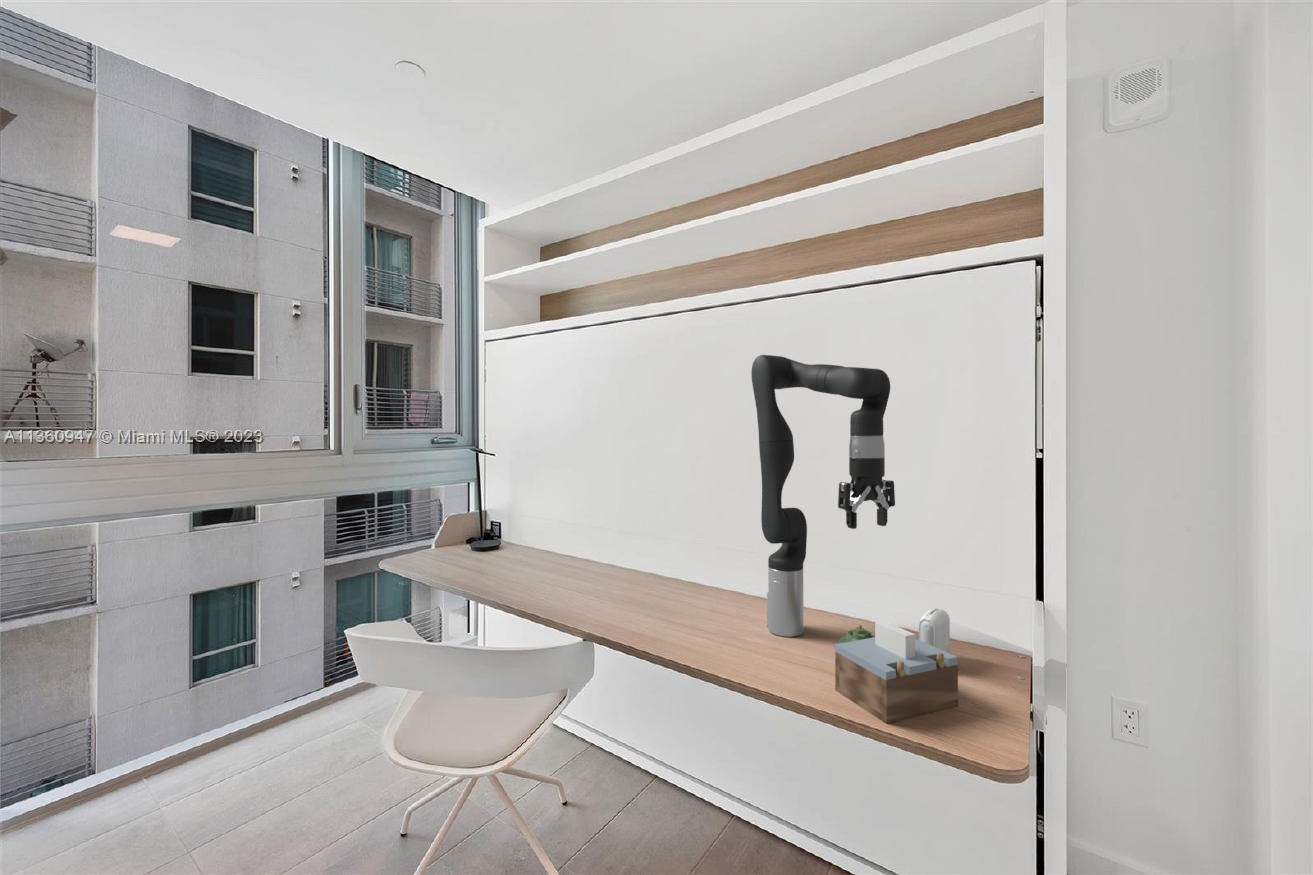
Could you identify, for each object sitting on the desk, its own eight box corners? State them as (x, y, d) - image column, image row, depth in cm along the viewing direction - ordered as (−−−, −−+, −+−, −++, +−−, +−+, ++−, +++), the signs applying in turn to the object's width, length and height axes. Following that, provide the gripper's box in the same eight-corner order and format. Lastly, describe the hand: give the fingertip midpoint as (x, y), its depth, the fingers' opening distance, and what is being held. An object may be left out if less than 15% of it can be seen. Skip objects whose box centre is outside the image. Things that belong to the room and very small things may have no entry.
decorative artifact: (871, 645, 135) (832, 646, 134) (870, 617, 135) (832, 618, 134) (891, 662, 125) (849, 663, 124) (890, 632, 125) (849, 633, 124)
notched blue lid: (835, 651, 111) (835, 622, 111) (901, 639, 118) (901, 612, 118) (886, 680, 98) (885, 647, 98) (957, 664, 105) (957, 634, 105)
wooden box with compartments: (835, 690, 111) (835, 639, 111) (901, 675, 118) (901, 627, 118) (886, 723, 98) (886, 666, 98) (958, 705, 105) (957, 652, 104)
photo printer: (936, 673, 119) (936, 617, 119) (916, 667, 122) (916, 613, 122) (952, 659, 126) (952, 607, 126) (933, 654, 129) (932, 603, 129)
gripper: (878, 454, 128) (879, 522, 128) (830, 455, 122) (830, 526, 123) (903, 455, 121) (903, 527, 121) (853, 457, 115) (853, 532, 116)
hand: (867, 526), depth 122 cm, fingers open, 8 cm apart
